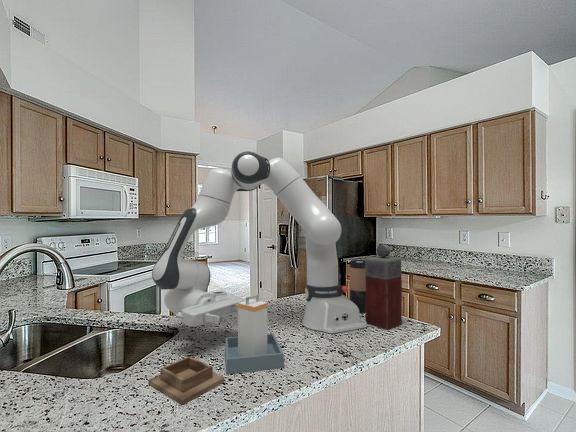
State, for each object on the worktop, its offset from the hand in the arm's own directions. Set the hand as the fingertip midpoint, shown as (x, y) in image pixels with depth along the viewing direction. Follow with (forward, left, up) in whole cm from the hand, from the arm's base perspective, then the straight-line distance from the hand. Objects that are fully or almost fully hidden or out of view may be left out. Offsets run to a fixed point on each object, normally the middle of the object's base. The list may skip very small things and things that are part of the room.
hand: (233, 315), depth 87 cm
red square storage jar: (-54, -11, -10) cm, 56 cm away
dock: (+11, +15, -10) cm, 21 cm away
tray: (-5, +6, -10) cm, 12 cm away
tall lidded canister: (-5, +5, -9) cm, 12 cm away
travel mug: (-52, -27, -10) cm, 60 cm away
